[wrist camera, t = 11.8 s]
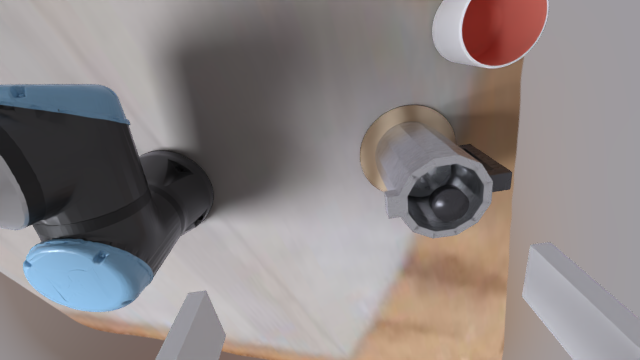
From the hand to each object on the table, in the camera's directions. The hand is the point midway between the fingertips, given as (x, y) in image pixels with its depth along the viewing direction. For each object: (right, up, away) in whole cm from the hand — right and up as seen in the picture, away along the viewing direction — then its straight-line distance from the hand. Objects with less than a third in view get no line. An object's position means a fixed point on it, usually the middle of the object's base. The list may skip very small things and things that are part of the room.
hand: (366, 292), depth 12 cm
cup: (+19, +27, +31) cm, 45 cm away
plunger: (+13, +6, +32) cm, 35 cm away
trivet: (+13, +9, +39) cm, 42 cm away
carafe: (+13, +9, +38) cm, 41 cm away
